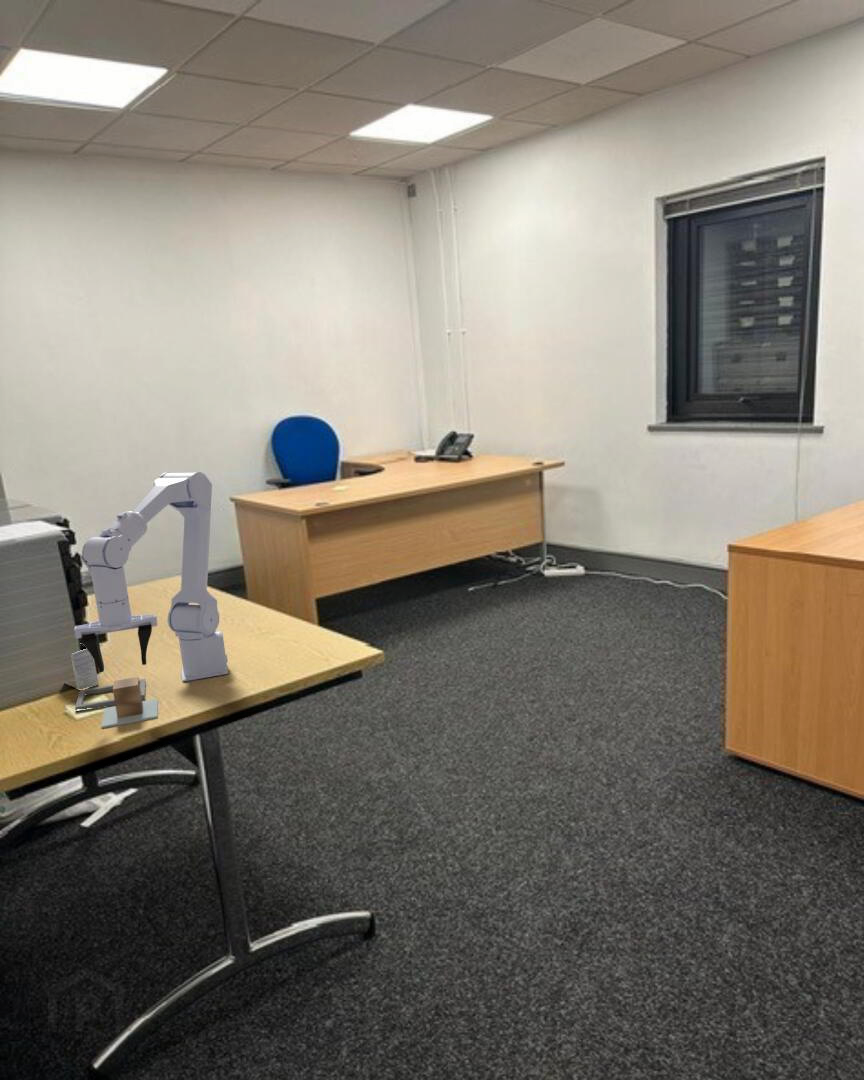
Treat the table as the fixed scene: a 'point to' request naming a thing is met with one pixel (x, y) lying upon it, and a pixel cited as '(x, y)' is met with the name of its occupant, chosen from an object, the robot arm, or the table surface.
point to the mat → (148, 713)
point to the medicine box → (84, 669)
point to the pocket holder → (100, 690)
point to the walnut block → (128, 697)
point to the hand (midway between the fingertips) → (123, 666)
